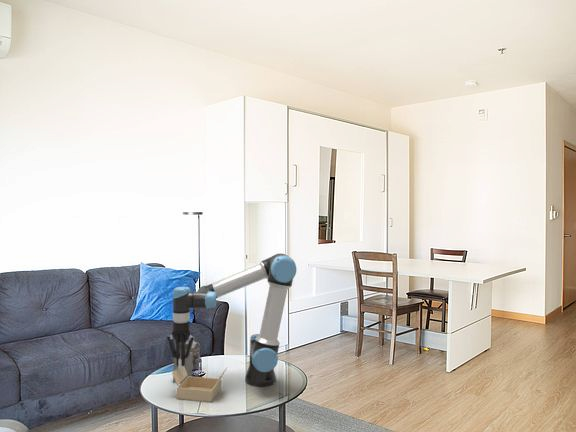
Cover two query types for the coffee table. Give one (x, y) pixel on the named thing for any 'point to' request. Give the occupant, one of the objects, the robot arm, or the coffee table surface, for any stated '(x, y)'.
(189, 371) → the perfume bottle
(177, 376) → the flap
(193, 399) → the carton
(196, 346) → the figurine
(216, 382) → the flap
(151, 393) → the coffee table surface
